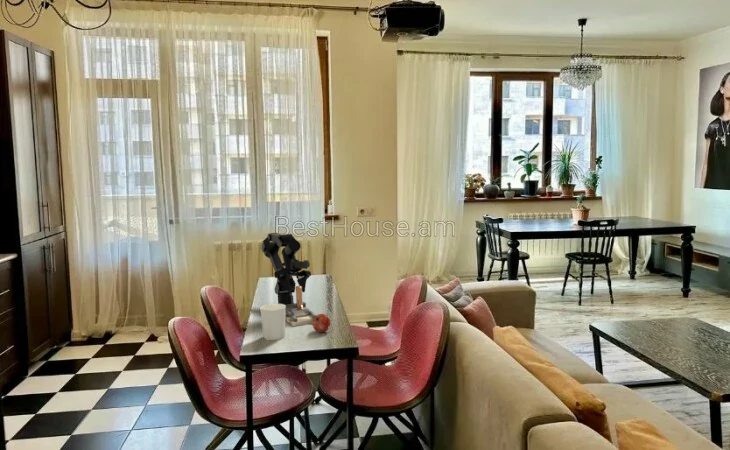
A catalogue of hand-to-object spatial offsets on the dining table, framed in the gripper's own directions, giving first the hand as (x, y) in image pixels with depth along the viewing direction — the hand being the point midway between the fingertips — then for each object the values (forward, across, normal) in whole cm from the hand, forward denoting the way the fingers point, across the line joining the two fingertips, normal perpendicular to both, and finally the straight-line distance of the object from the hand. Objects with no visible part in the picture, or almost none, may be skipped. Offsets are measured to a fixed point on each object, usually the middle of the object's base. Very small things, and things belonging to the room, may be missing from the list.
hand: (296, 291), depth 229 cm
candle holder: (+22, -25, -5) cm, 33 cm away
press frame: (+13, -2, -1) cm, 13 cm away
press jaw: (+11, -3, -1) cm, 12 cm away
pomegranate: (+24, -11, -17) cm, 31 cm away
